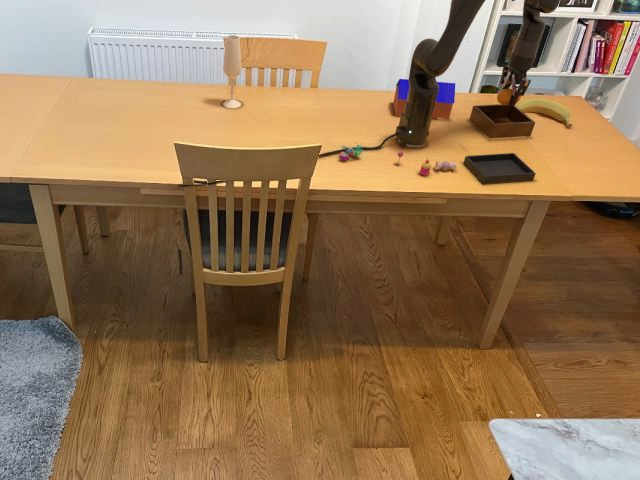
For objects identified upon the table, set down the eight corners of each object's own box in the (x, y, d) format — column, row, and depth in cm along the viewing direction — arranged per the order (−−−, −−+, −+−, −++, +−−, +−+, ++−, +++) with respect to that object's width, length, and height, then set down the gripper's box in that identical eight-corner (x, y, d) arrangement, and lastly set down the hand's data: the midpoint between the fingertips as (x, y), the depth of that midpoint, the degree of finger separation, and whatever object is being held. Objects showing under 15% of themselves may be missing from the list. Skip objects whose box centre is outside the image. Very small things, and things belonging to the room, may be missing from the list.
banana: (538, 87, 221) (584, 113, 211) (534, 99, 226) (578, 125, 216) (513, 103, 218) (558, 130, 208) (509, 115, 222) (553, 142, 212)
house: (392, 103, 224) (398, 72, 216) (444, 107, 223) (452, 77, 215) (394, 116, 215) (400, 85, 207) (449, 121, 213) (458, 89, 206)
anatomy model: (333, 140, 188) (344, 147, 183) (354, 137, 191) (366, 143, 186) (332, 155, 191) (343, 163, 186) (353, 152, 194) (364, 159, 189)
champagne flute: (240, 100, 220) (242, 34, 204) (241, 108, 215) (243, 40, 199) (222, 100, 219) (223, 34, 204) (223, 107, 214) (223, 40, 199)
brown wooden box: (489, 140, 203) (494, 124, 199) (468, 120, 214) (473, 105, 211) (529, 137, 206) (535, 122, 202) (507, 118, 217) (512, 103, 213)
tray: (482, 184, 180) (485, 176, 178) (463, 163, 190) (465, 155, 188) (532, 180, 183) (535, 173, 181) (511, 160, 193) (513, 152, 191)
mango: (499, 107, 201) (504, 92, 198) (492, 101, 205) (496, 86, 202) (520, 106, 203) (526, 91, 199) (513, 100, 206) (518, 86, 203)
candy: (449, 164, 189) (454, 147, 185) (456, 176, 183) (462, 159, 179) (394, 162, 188) (398, 145, 184) (399, 175, 182) (403, 158, 178)
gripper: (502, 45, 197) (487, 94, 208) (525, 60, 186) (507, 111, 197) (522, 45, 198) (506, 93, 209) (546, 60, 188) (527, 110, 199)
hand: (507, 102), depth 203 cm, fingers closed on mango, 5 cm apart
